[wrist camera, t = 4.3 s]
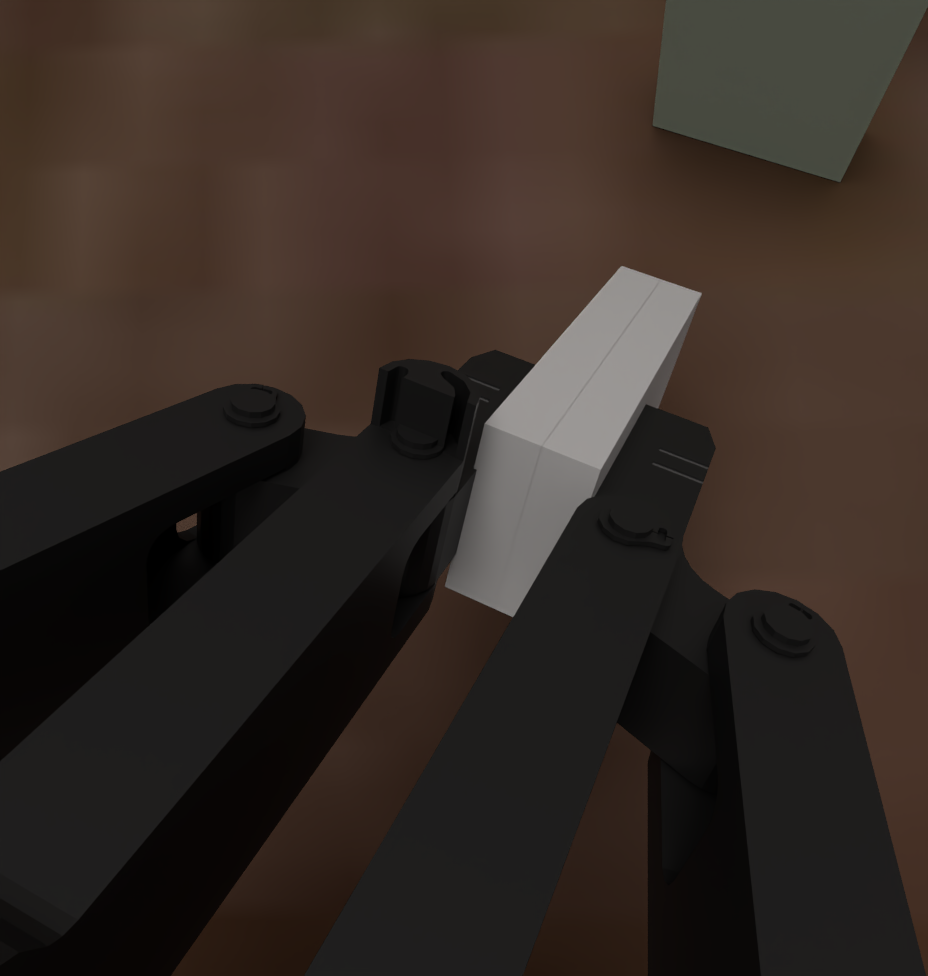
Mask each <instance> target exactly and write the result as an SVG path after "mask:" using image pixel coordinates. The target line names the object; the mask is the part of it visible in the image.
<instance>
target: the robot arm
mask: <svg viewBox="0 0 928 976" xmlns="http://www.w3.org/2000/svg"><path fill="white" fill-rule="evenodd" d="M701 294H702V293H699V292H696V291H693V290H690V289H687V288H684V287H682V286H679V285H676V284H673V283H670V282H667V281H664V280H661V279H658V278H655V277H652V276H650V275H647V274H644V273H641V272H638V271H635V270H632V269H629V268H626V267H623V266H621V267H620V268H619V270H618V271H617V272H616V273H615V274H614V275H613V276H612V278H611V279H610V280H609V281H608V282H607V283H606V285H605V286H604V287H603V288H602V289H601V290H600V291H599V293H598V294H597V295H596V296H595V297H594V298H593V299H592V301H591V302H590V303H589V304H588V305H587V306H586V308H585V309H584V310H583V311H582V312H581V313H580V314H579V316H578V317H577V318H576V319H575V320H574V321H573V322H572V324H571V325H570V326H569V327H568V328H567V329H566V331H565V332H564V333H563V334H562V335H561V336H560V337H559V339H558V340H557V341H556V342H555V343H554V344H553V345H552V347H551V348H550V349H549V350H548V351H547V352H546V354H545V355H544V356H543V357H542V358H541V359H540V360H539V362H538V363H537V364H536V365H534V364H531V363H529V362H526V361H524V360H521V359H518V358H516V357H513V356H510V355H508V354H505V353H502V352H500V351H497V350H494V351H490V352H487V353H484V354H481V355H478V356H474V357H471V358H470V359H469V360H468V361H467V362H466V363H465V364H464V365H463V366H462V367H461V368H460V369H459V370H456V369H454V368H452V367H450V366H447V365H443V364H439V363H436V362H432V361H426V360H414V359H408V360H401V361H393V362H391V363H389V364H387V365H384V366H382V367H380V368H379V374H378V381H377V387H376V394H375V401H374V407H373V414H372V420H371V424H370V425H369V426H368V427H367V428H366V429H364V430H363V431H362V432H361V433H360V434H359V435H358V436H357V437H352V436H344V435H336V434H331V433H326V432H321V431H316V430H311V429H306V428H305V418H306V415H305V412H304V410H303V407H302V405H301V404H300V403H299V402H298V401H297V400H296V399H295V398H294V397H293V396H291V395H290V394H287V393H285V392H283V391H281V390H278V389H276V388H273V387H269V386H263V385H259V384H234V385H230V386H226V387H222V388H217V389H215V390H212V391H210V392H207V393H204V394H202V395H199V396H197V397H194V398H191V399H189V400H186V401H184V402H181V403H178V404H176V405H173V406H170V407H168V408H165V409H163V410H160V411H157V412H155V413H152V414H150V415H147V416H144V417H142V418H139V419H137V420H134V421H131V422H129V423H126V424H124V425H121V426H118V427H116V428H113V429H111V430H108V431H105V432H103V433H100V434H98V435H95V436H92V437H90V438H87V439H85V440H82V441H79V442H77V443H74V444H72V445H69V446H66V447H64V448H61V449H59V450H56V451H53V452H51V453H48V454H46V455H43V456H40V457H38V458H35V459H33V460H30V461H27V462H25V463H22V464H19V465H17V466H14V467H12V468H9V469H6V470H4V471H1V472H0V976H171V974H172V973H173V971H174V970H175V969H176V967H177V966H178V964H179V963H180V961H181V960H182V959H183V957H184V956H185V954H186V953H187V952H188V950H189V949H190V947H191V946H192V944H193V943H194V942H195V940H196V939H197V937H198V936H199V935H200V933H201V932H202V930H203V929H204V927H205V926H206V925H207V923H208V922H209V920H210V919H211V918H212V916H213V915H214V913H215V912H216V910H217V909H218V908H219V906H220V905H221V903H222V902H223V901H224V899H225V898H226V896H227V895H228V893H229V892H230V891H231V889H232V888H233V886H234V885H235V883H236V882H237V881H238V879H239V878H240V876H241V875H242V874H243V872H244V871H245V869H246V868H247V866H248V865H249V864H250V862H251V861H252V859H253V858H254V857H255V855H256V854H257V852H258V851H259V849H260V848H261V847H262V845H263V844H264V842H265V841H266V840H267V838H268V837H269V835H270V834H271V832H272V831H273V830H274V828H275V827H276V825H277V824H278V823H279V821H280V820H281V818H282V817H283V815H284V814H285V813H286V811H287V810H288V808H289V807H290V806H291V804H292V803H293V801H294V800H295V798H296V797H297V796H298V794H299V793H300V791H301V790H302V788H303V787H304V786H305V784H306V783H307V781H308V780H309V779H310V777H311V776H312V774H313V773H314V771H315V770H316V769H317V767H318V766H319V764H320V763H321V762H322V760H323V759H324V757H325V756H326V754H327V753H328V752H329V750H330V749H331V747H332V746H333V745H334V743H335V742H336V740H337V739H338V737H339V736H340V735H341V733H342V732H343V730H344V729H345V728H346V726H347V725H348V723H349V722H350V720H351V719H352V718H353V716H354V715H355V713H356V712H357V711H358V709H359V708H360V706H361V705H362V703H363V702H364V701H365V699H366V698H367V696H368V695H369V693H370V692H371V691H372V689H373V688H374V686H375V685H376V684H377V682H378V681H379V679H380V678H381V676H382V675H383V674H384V672H385V671H386V669H387V668H388V667H389V665H390V664H391V662H392V661H393V659H394V658H395V657H396V655H397V654H398V652H399V651H400V650H401V648H402V647H403V645H404V644H405V642H406V641H407V640H408V638H409V637H410V635H411V634H412V633H413V631H414V630H415V628H416V627H417V625H418V624H419V623H420V621H421V620H422V618H423V617H424V616H425V614H426V613H427V611H428V610H429V607H430V604H431V602H432V599H433V595H434V591H435V587H436V582H437V579H438V578H439V576H440V575H441V574H442V572H443V571H444V570H445V568H446V567H447V566H448V564H449V563H450V561H451V563H450V568H449V572H448V576H447V580H446V584H445V587H447V588H449V589H451V590H454V591H456V592H458V593H460V594H462V595H465V596H467V597H469V598H471V599H474V600H476V601H478V602H480V603H482V604H485V605H487V606H489V607H491V608H494V609H496V610H498V611H500V612H503V613H505V614H507V615H509V616H511V617H513V618H512V620H511V622H510V623H509V625H508V627H507V629H506V630H505V632H504V634H503V635H502V637H501V639H500V641H499V642H498V644H497V646H496V648H495V649H494V651H493V653H492V654H491V656H490V658H489V660H488V661H487V663H486V665H485V666H484V668H483V670H482V672H481V673H480V675H479V677H478V678H477V680H476V682H475V684H474V685H473V687H472V689H471V690H470V692H469V694H468V696H467V697H466V699H465V701H464V702H463V704H462V706H461V708H460V709H459V711H458V713H457V714H456V716H455V718H454V720H453V721H452V723H451V725H450V726H449V728H448V730H447V732H446V733H445V735H444V737H443V738H442V740H441V742H440V744H439V745H438V747H437V749H436V750H435V752H434V754H433V756H432V757H431V759H430V761H429V762H428V764H427V766H426V768H425V769H424V771H423V773H422V774H421V776H420V778H419V780H418V781H417V783H416V785H415V786H414V788H413V790H412V792H411V793H410V795H409V797H408V798H407V800H406V802H405V804H404V805H403V807H402V809H401V811H400V812H399V814H398V816H397V817H396V819H395V821H394V823H393V824H392V826H391V828H390V829H389V831H388V833H387V835H386V836H385V838H384V840H383V841H382V843H381V845H380V847H379V848H378V850H377V852H376V853H375V855H374V857H373V859H372V860H371V862H370V864H369V865H368V867H367V869H366V871H365V872H364V874H363V876H362V877H361V879H360V881H359V883H358V884H357V886H356V888H355V889H354V891H353V893H352V895H351V896H350V898H349V900H348V901H347V903H346V905H345V907H344V908H343V910H342V912H341V913H340V915H339V917H338V919H337V920H336V922H335V924H334V925H333V927H332V929H331V931H330V932H329V934H328V936H327V937H326V939H325V941H324V943H323V944H322V946H321V948H320V949H319V951H318V953H317V955H316V956H315V958H314V960H313V961H312V963H311V965H310V967H309V968H308V970H307V972H306V973H305V975H304V976H523V973H524V971H525V968H526V965H527V963H528V960H529V957H530V954H531V952H532V949H533V946H534V944H535V941H536V938H537V936H538V933H539V930H540V928H541V925H542V922H543V919H544V917H545V914H546V911H547V909H548V906H549V903H550V901H551V898H552V895H553V893H554V890H555V887H556V884H557V882H558V879H559V876H560V874H561V871H562V868H563V866H564V863H565V860H566V857H567V855H568V852H569V849H570V847H571V844H572V841H573V839H574V836H575V833H576V831H577V828H578V825H579V822H580V820H581V817H582V814H583V812H584V809H585V806H586V804H587V801H588V798H589V796H590V793H591V790H592V787H593V785H594V782H595V779H596V777H597V774H598V771H599V769H600V766H601V763H602V761H603V758H604V755H605V752H606V750H607V747H608V744H609V742H610V739H611V736H612V734H613V731H614V728H615V725H616V723H618V724H620V725H621V726H622V727H623V728H624V729H626V730H627V731H628V732H629V733H631V734H632V735H633V736H634V737H636V738H637V739H638V740H639V741H640V742H642V743H643V744H644V745H645V746H647V747H648V748H649V749H650V750H651V752H650V756H649V760H648V976H926V974H925V970H924V966H923V962H922V958H921V954H920V950H919V946H918V942H917V938H916V935H915V931H914V927H913V923H912V919H911V915H910V911H909V907H908V903H907V899H906V895H905V891H904V887H903V884H902V880H901V876H900V872H899V868H898V864H897V860H896V856H895V852H894V848H893V844H892V840H891V837H890V833H889V829H888V825H887V821H886V817H885V813H884V809H883V805H882V801H881V797H880V793H879V789H878V786H877V782H876V778H875V774H874V770H873V766H872V762H871V758H870V754H869V750H868V746H867V742H866V738H865V735H864V731H863V727H862V723H861V719H860V715H859V711H858V707H857V703H856V699H855V695H854V691H853V687H852V684H851V680H850V676H849V672H848V668H847V664H846V660H845V656H844V652H843V648H842V646H841V644H840V642H839V640H838V638H837V636H836V634H835V632H834V630H833V629H832V628H831V627H830V626H829V625H828V624H827V623H826V622H825V621H824V620H823V619H822V618H821V617H820V616H819V615H818V614H817V613H816V612H814V611H813V610H811V609H810V608H808V607H806V606H805V605H803V604H802V603H800V602H799V601H797V600H794V599H792V598H789V597H787V596H784V595H781V594H779V593H776V592H770V591H762V590H750V591H745V592H740V593H737V594H736V595H734V596H733V597H732V598H731V599H730V600H729V599H728V598H726V597H725V596H723V595H722V594H720V593H719V592H717V591H716V590H714V589H713V588H712V587H711V586H709V585H708V584H707V583H706V582H704V581H703V580H702V579H701V578H700V577H699V576H698V575H697V574H696V573H695V571H694V570H693V569H692V568H691V567H690V565H689V563H688V561H687V560H686V558H685V556H684V552H683V548H682V541H683V535H684V533H685V530H686V527H687V524H688V522H689V519H690V516H691V514H692V511H693V508H694V505H695V503H696V500H697V497H698V495H699V492H700V489H701V487H702V483H703V481H704V478H705V476H706V473H707V470H708V467H709V465H710V462H711V460H712V457H713V454H714V451H715V449H716V448H715V445H714V442H713V440H712V437H711V434H710V431H709V429H708V427H705V426H702V425H700V424H697V423H694V422H692V421H689V420H687V419H684V418H681V417H679V416H676V415H673V414H671V413H668V412H665V411H663V410H660V409H658V407H659V405H660V402H661V399H662V397H663V394H664V392H665V389H666V386H667V384H668V381H669V378H670V376H671V373H672V371H673V368H674V365H675V363H676V360H677V357H678V355H679V352H680V350H681V347H682V344H683V342H684V339H685V336H686V334H687V331H688V328H689V326H690V323H691V321H692V318H693V315H694V313H695V310H696V307H697V305H698V302H699V300H700V297H701ZM195 513H197V525H196V526H194V527H192V528H190V529H188V530H186V531H182V532H178V533H177V530H176V523H177V522H179V521H181V520H183V519H185V518H187V517H189V516H191V515H193V514H195Z"/></svg>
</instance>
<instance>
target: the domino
mask: <svg viewBox="0 0 928 976" xmlns="http://www.w3.org/2000/svg"><path fill="white" fill-rule="evenodd" d="M927 7H928V0H666V7H665V16H664V25H663V34H662V44H661V53H660V62H659V71H658V80H657V89H656V98H655V108H654V117H653V126H655V127H658V128H662V129H665V130H668V131H672V132H675V133H678V134H682V135H685V136H688V137H691V138H695V139H698V140H701V141H705V142H708V143H711V144H715V145H718V146H721V147H725V148H728V149H731V150H734V151H738V152H741V153H744V154H748V155H751V156H754V157H758V158H761V159H764V160H767V161H771V162H774V163H777V164H781V165H784V166H787V167H791V168H794V169H797V170H800V171H804V172H807V173H810V174H814V175H817V176H820V177H824V178H827V179H830V180H833V181H837V182H841V180H842V178H843V176H844V174H845V172H846V170H847V168H848V166H849V164H850V162H851V160H852V158H853V156H854V154H855V152H856V150H857V148H858V146H859V144H860V142H861V140H862V138H863V136H864V134H865V132H866V130H867V128H868V126H869V124H870V122H871V120H872V118H873V116H874V114H875V112H876V110H877V108H878V106H879V104H880V102H881V100H882V98H883V96H884V94H885V92H886V90H887V88H888V86H889V84H890V82H891V80H892V78H893V76H894V74H895V72H896V70H897V68H898V66H899V64H900V62H901V60H902V58H903V56H904V54H905V52H906V50H907V48H908V46H909V44H910V42H911V40H912V38H913V36H914V33H915V31H916V29H917V27H918V25H919V23H920V21H921V19H922V17H923V15H924V13H925V11H926V9H927Z"/></svg>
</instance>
